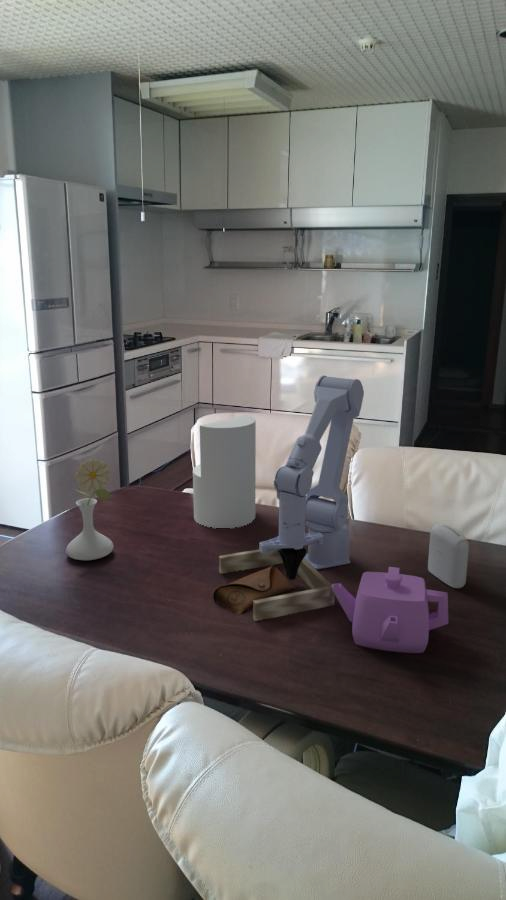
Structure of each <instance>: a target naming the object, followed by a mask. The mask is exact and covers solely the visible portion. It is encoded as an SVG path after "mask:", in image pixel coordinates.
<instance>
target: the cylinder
mask: <svg viewBox="0 0 506 900" xmlns="http://www.w3.org/2000/svg"><path fill="white" fill-rule="evenodd" d="M256 422H257V421H256V419H255V417H253V416H251V415H248V414H243V415H239V416H236V417H230V418H228V419H222V420H218V421H213V422H210V423H206V424H201V425H199V453H200V454H199V456H200V462H199V463H200V464H198V465H196V466H194V468H193V469H192V490H193V491H192V492H193V493H192V495H193V497H192V498H193V519H194V521H195V522H196V523H197V524H198V523H199V524H198V525H200V524H201V525H200V526H202V525H204V526H203V527H206V526H207V527H206V528H210V527H212V528H211V529H216V528H230V529H236V528H235V527H237V528H242V527H244V525H245V526H248V525H250V524H252V521H253V520H254V519H256V466H257V465H256V463H257V462H256V457H257V456H256V452H257V451H256V445H257V444H256V442H257V441H256V436H257V435H256V431H257V430H256V428H257V427H256V425H257V424H256ZM254 521H255V520H254ZM254 521H253V522H254ZM249 523H250V524H249ZM247 524H248V525H247ZM241 526H242V527H241Z"/></svg>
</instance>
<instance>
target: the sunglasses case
mask: <svg viewBox="0 0 506 900" xmlns="http://www.w3.org/2000/svg"><path fill="white" fill-rule="evenodd" d="M296 589H298V586H295V585H294V584H293V583H291V580H290V579H289V578H288V577H287V576H286V575H284V574H283V573H282V572H281V571H280V570H279V569H278V567H276V564H275V565H270V566H268V567H267V568H264V569H261V570H259V571H258V570H257V572H253V573H250V574H248V575H246V576H244V577H241V578H239V579H236V580H234V581H231V582H229V583H228V584H224V585H220V586H219V587H217V588H216V589H215V590H214V591H213V595H212V597H213V600H214V603H216V602H217V603H216V604H218V603H219V604H218V605H219V606H221V605H222V607H223V606H224V608H225V607H226V608H225V609H227V608H228V609H227V610H229V609H230V610H229V611H230V612H233V611H234V612H233V613H235V612H237V613H238V614H239V613H240V614H241V613H243V614H244V613H246V612H247V610H248V609H249V610H251V609H253V608H252V607H253V601H254V600H259V599H264V598H269V597H275V596H280V595H284V594H287V593H289V592H291V591H294V590H296ZM250 608H251V609H250ZM249 610H248V611H249ZM245 611H246V612H245ZM237 613H236V614H237ZM238 614H237V615H238ZM241 615H242V614H241Z"/></svg>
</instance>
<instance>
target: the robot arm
mask: <svg viewBox="0 0 506 900" xmlns="http://www.w3.org/2000/svg"><path fill="white" fill-rule="evenodd" d="M314 386H315V387H314V390H313V391H314V392H313V393H314V394H313V397H314V402H315V405H314V407H313V410H312V413H311V416H310V419H309V422H308V425H307V427H306V429H305V430H306V431H305V432H304V434H303V435H301V436H299V437H297V439H296V441H295V443H294V445H293V448H292V450H291V451H290V454H289V456H288V458H287V461H286V463H285V465H283V466H281V467H279V468H278V469H277V471H276V473H275V474H274V475H275V476H274V480H273V487H274V489H275V492H276V499H278V504H279V505H278V535H277V536H276V537H274V538H270V539H267V540H263V541H260V542H259V544H258V545H259V547H258V549H259V551H260V552H261V553H262V554H265V553H267V552H269V551H275V550H278V552H279V554H280V556H281V558H282V560H283V563H282V564H283V566H284V570H285V574H286V575H285V577H286V578H287V579H288V580H289V581H291V580H295V579H296V578H297V575H298V574H297V571H298V568H299V566H300V564H301V562H302V560H303V558H304V559H305V560H306V561H307V562H308V563H309V564H310V565H311V566H312V567H314V568H315V569H316V570H317V571H318V570H321V569H328V568H333V567H338V566H343V565H344V566H345V565H349V564H351V560H350V543H351V536H350V530H349V528H348V526H347V525H346V523H347V520H348V515H349V510H348V509H349V508H348V507H349V497H348V496H347V495H346V494H345V493H344V491H343V490H342V489H341V488H340V486H341V481H342V478H343V472H344V466H345V463H346V457H347V454H348V453H347V452H348V448H349V443H350V438H351V433H352V429H353V424H354V419H355V418H357V417H359V416H360V415H361V414H360V413H361V409H362V406H363V405H362V404H363V400H364V395H365V391H364V387H363V384H362V381H361V380H360V379H358V378H355V379H353V378H352V379H351V378H343V377H335V376H327V375H321V376H320V377H319V378H318V379H317V381H316V383H315V385H314ZM328 427H329V431H328V436H327V440H326V445H325V448H324V449H325V450H324V455H323V459H322V465H321V470H320V473H319V478H318V479H319V480H318V483H317V484H316V485H314V486H313V487H312V483H313V477H314V467H315V465H316V462H317V460H318V458H319V456H320V453H321V452H322V449H323V448H322V444H321V439H322V438H323V436H324V434H325V433H326V431H327V428H328ZM321 497H323V498H321ZM326 498H327V499H326ZM306 527H308V533H306ZM305 546H307V549H306V548H305Z"/></svg>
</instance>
